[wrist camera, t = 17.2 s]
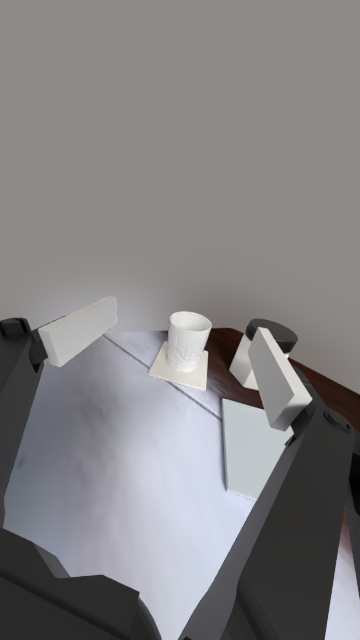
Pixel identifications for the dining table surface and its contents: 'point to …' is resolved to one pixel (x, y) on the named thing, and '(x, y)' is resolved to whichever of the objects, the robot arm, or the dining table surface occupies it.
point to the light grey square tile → (249, 448)
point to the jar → (241, 360)
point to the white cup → (186, 340)
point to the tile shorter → (188, 379)
